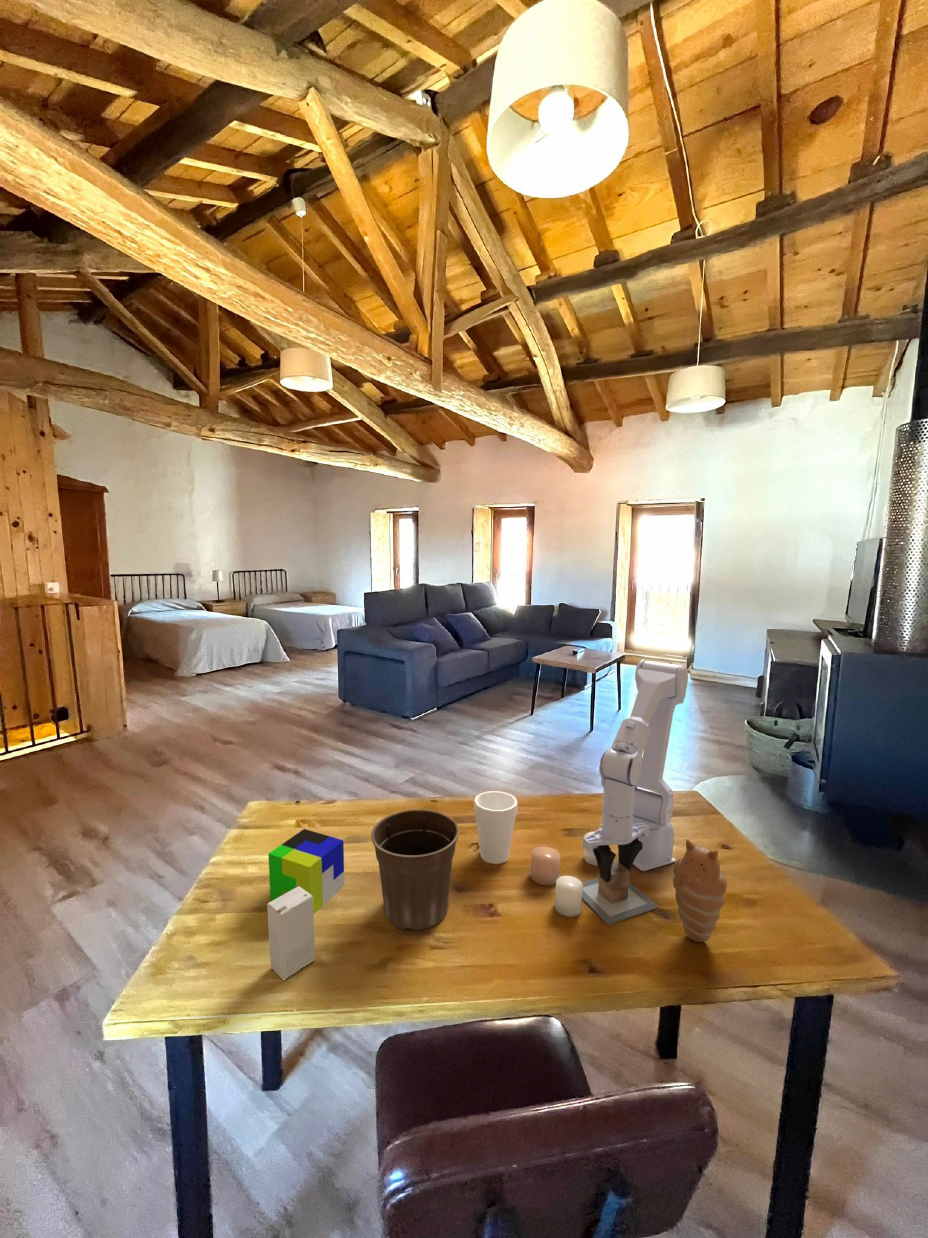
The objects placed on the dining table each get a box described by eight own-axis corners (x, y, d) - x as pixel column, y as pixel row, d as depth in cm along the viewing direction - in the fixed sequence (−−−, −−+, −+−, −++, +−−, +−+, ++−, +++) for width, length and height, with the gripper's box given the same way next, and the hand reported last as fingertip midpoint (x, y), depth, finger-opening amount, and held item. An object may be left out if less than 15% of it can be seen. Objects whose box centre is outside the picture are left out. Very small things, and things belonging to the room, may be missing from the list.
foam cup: (513, 871, 115) (514, 813, 113) (470, 865, 117) (471, 808, 115) (517, 846, 124) (519, 793, 122) (478, 841, 126) (478, 789, 124)
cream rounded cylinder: (604, 852, 122) (604, 831, 121) (609, 865, 117) (609, 844, 116) (582, 852, 122) (582, 832, 121) (586, 866, 117) (586, 844, 116)
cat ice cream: (662, 938, 96) (668, 843, 93) (680, 916, 101) (686, 827, 99) (713, 965, 90) (722, 865, 87) (730, 941, 95) (738, 846, 93)
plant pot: (412, 955, 91) (411, 867, 89) (355, 911, 102) (353, 831, 100) (475, 908, 103) (477, 829, 101) (418, 873, 114) (418, 801, 112)
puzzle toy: (344, 886, 109) (343, 840, 108) (311, 916, 101) (309, 867, 99) (305, 873, 114) (304, 828, 112) (270, 901, 105) (268, 853, 103)
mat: (617, 873, 115) (617, 871, 114) (658, 908, 104) (658, 906, 104) (570, 887, 110) (570, 885, 110) (608, 925, 99) (608, 923, 99)
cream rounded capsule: (568, 896, 107) (570, 873, 106) (586, 911, 103) (588, 886, 102) (549, 904, 104) (550, 880, 104) (567, 920, 100) (568, 895, 99)
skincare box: (301, 948, 93) (299, 883, 91) (316, 961, 90) (314, 894, 88) (268, 969, 88) (265, 901, 86) (283, 984, 85) (280, 914, 83)
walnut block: (614, 887, 109) (615, 859, 109) (627, 898, 106) (629, 870, 105) (598, 892, 108) (599, 864, 107) (611, 904, 104) (612, 875, 103)
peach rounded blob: (541, 865, 117) (542, 843, 117) (564, 877, 113) (566, 855, 112) (524, 875, 113) (525, 853, 112) (547, 889, 109) (549, 866, 108)
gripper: (633, 795, 111) (629, 857, 113) (574, 809, 105) (571, 873, 107) (658, 811, 104) (654, 876, 106) (597, 826, 98) (593, 894, 100)
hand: (614, 876), depth 106 cm, fingers open, 4 cm apart
